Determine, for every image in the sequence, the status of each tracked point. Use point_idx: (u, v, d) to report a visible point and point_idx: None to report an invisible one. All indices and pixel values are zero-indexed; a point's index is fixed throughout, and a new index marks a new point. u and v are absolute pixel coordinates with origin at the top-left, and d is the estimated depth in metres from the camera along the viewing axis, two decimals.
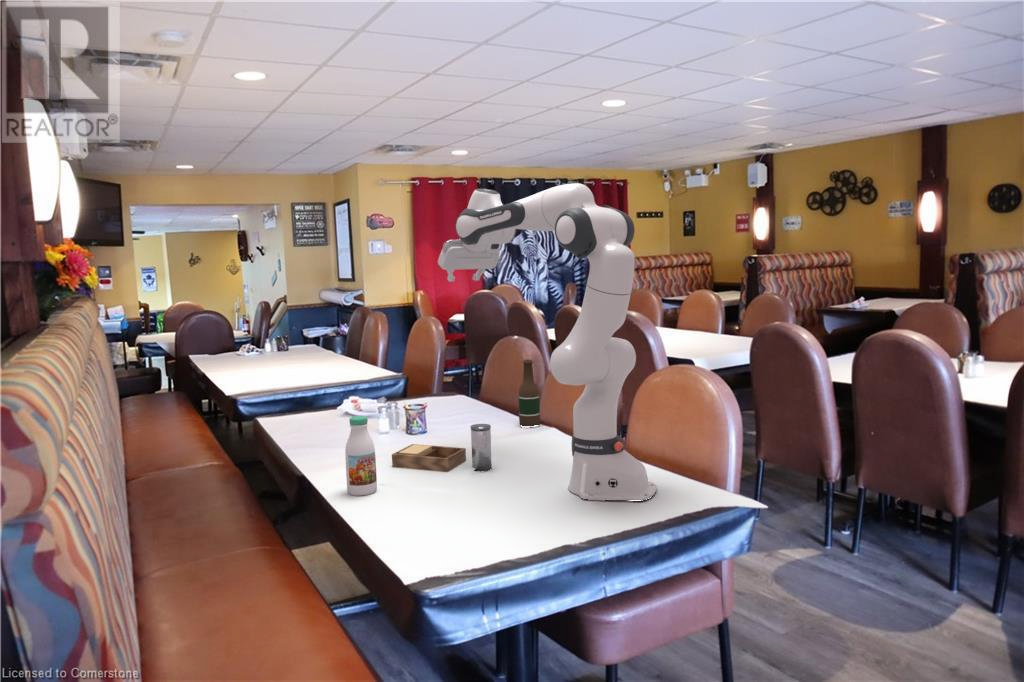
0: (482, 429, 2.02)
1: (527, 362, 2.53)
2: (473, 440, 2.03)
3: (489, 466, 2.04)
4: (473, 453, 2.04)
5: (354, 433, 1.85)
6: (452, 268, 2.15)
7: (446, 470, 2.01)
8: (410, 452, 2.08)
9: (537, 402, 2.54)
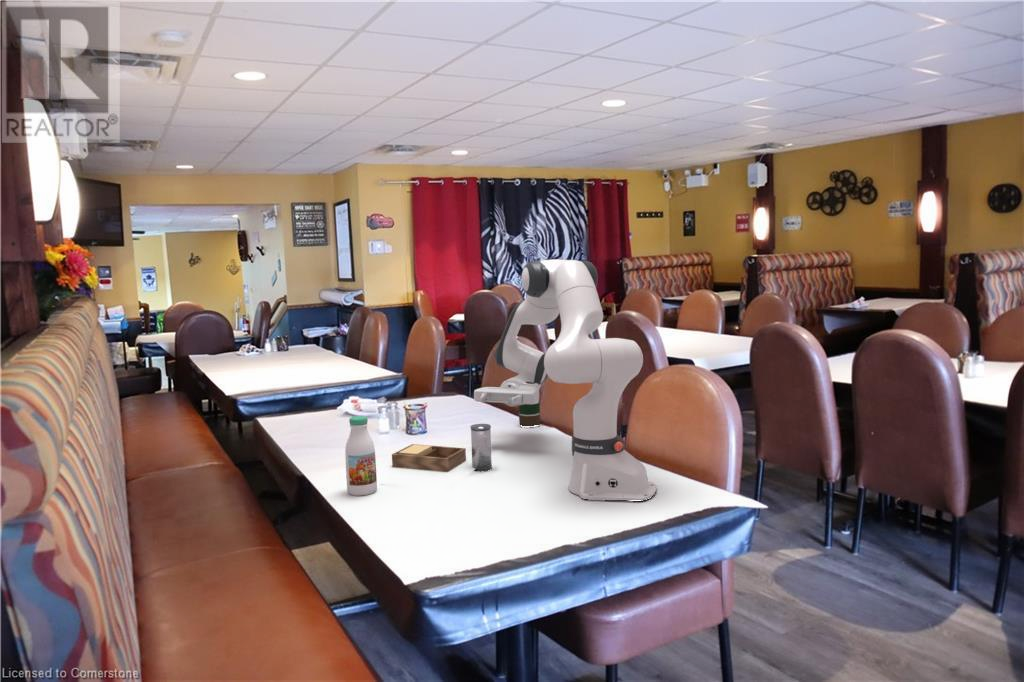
0: (482, 429, 2.02)
1: None
2: (473, 440, 2.03)
3: (489, 466, 2.04)
4: (473, 453, 2.04)
5: (354, 433, 1.85)
6: (483, 390, 2.22)
7: (446, 470, 2.01)
8: (410, 452, 2.08)
9: None
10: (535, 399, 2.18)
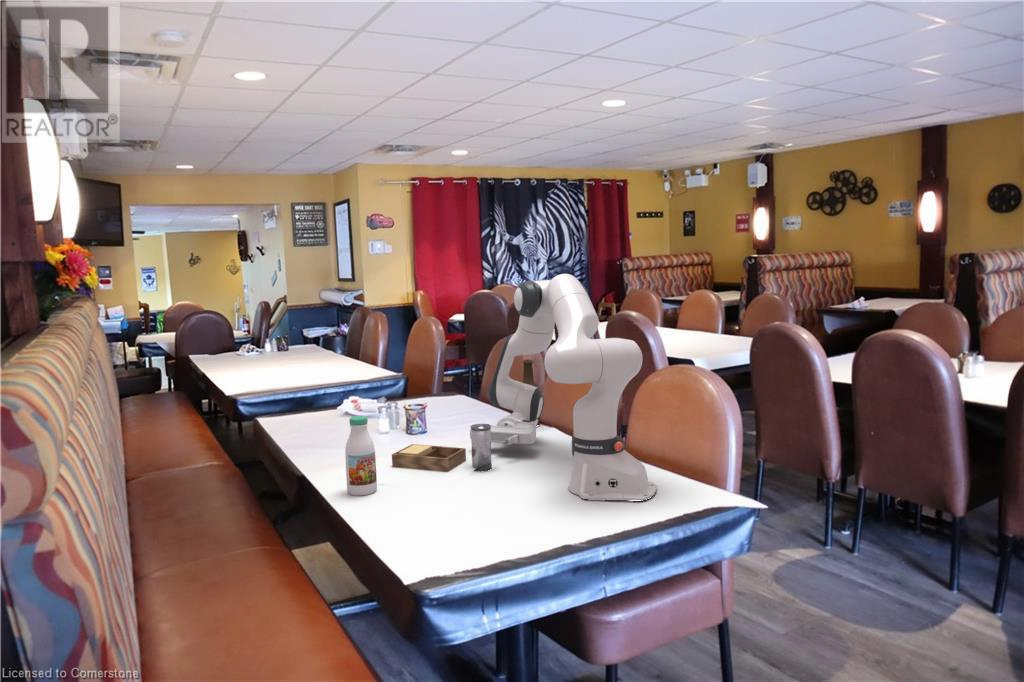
0: (482, 429, 2.02)
1: (527, 362, 2.53)
2: (473, 440, 2.03)
3: (489, 466, 2.04)
4: (473, 453, 2.04)
5: (354, 433, 1.85)
6: None
7: (446, 470, 2.01)
8: (410, 452, 2.08)
9: None
10: (532, 439, 2.15)
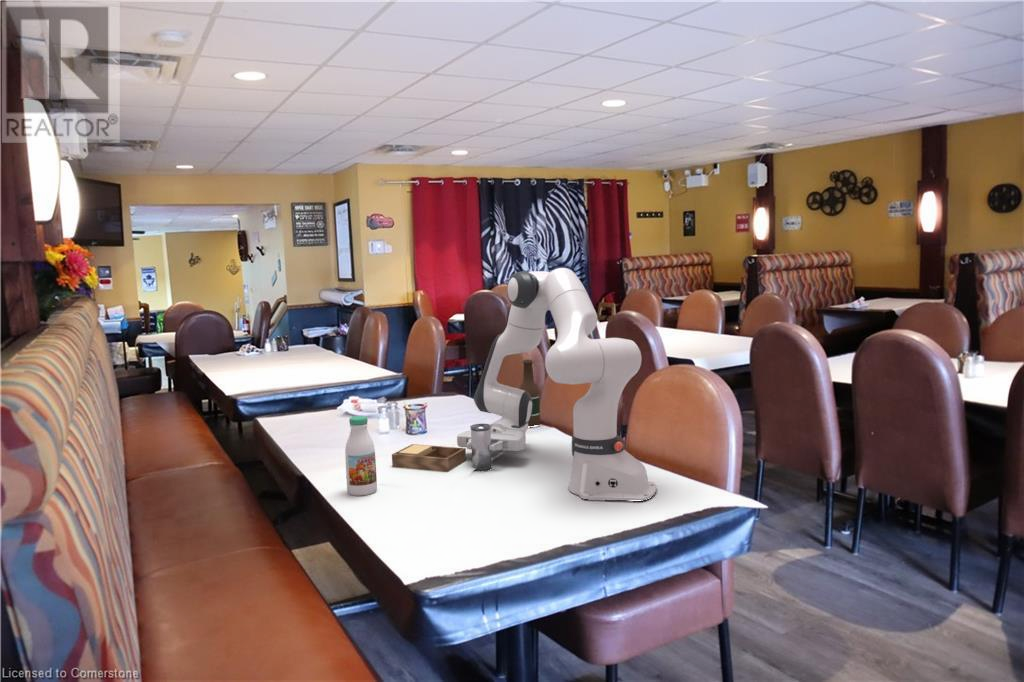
0: (482, 429, 2.02)
1: (527, 362, 2.53)
2: (473, 440, 2.03)
3: (489, 466, 2.04)
4: (473, 453, 2.04)
5: (354, 433, 1.85)
6: (467, 435, 2.11)
7: (446, 470, 2.01)
8: (410, 452, 2.08)
9: (537, 402, 2.54)
10: (521, 445, 2.07)
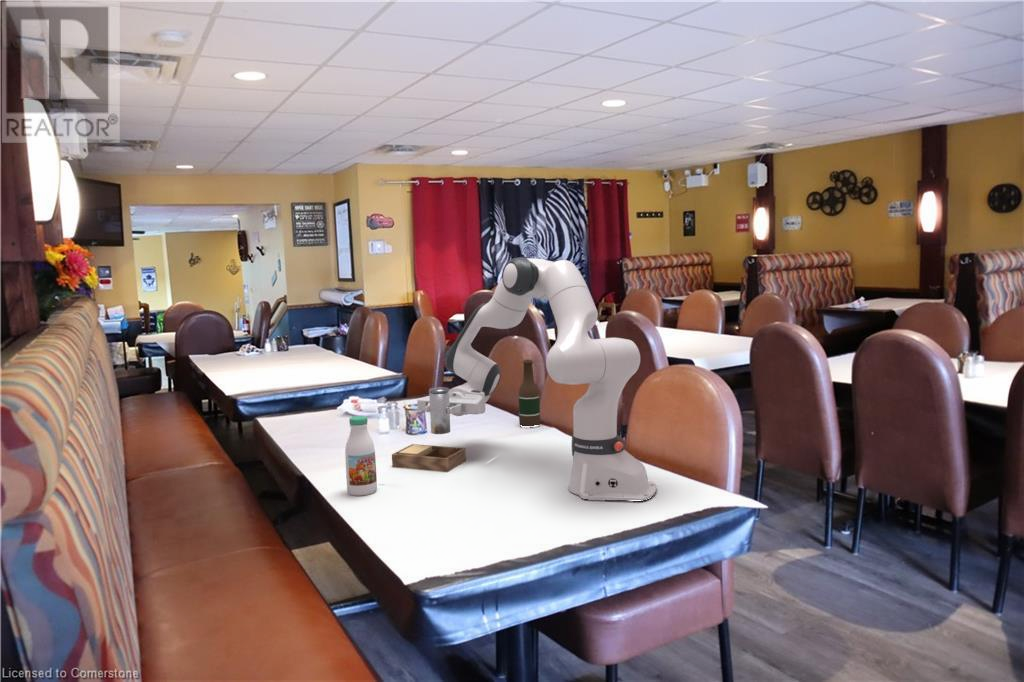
0: (440, 392, 2.03)
1: (527, 362, 2.53)
2: (431, 403, 2.05)
3: (447, 429, 2.06)
4: (431, 416, 2.05)
5: (354, 433, 1.85)
6: (426, 399, 2.13)
7: (446, 470, 2.01)
8: (410, 452, 2.08)
9: (537, 402, 2.54)
10: (480, 409, 2.09)
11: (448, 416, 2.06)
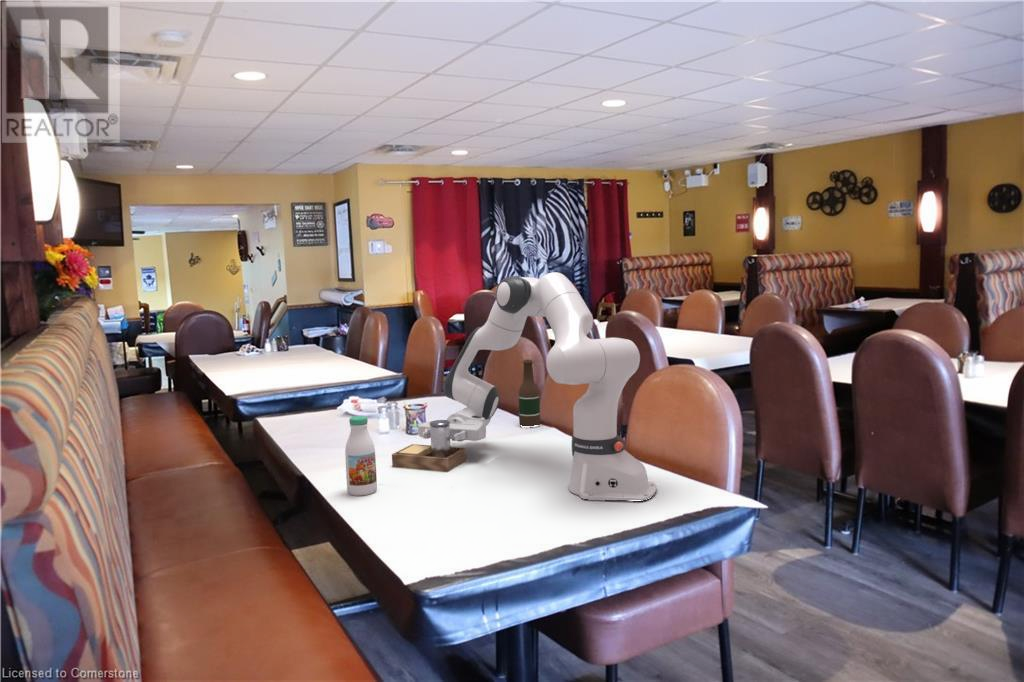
0: (441, 425, 2.04)
1: (527, 362, 2.53)
2: (432, 436, 2.05)
3: None
4: (432, 449, 2.06)
5: (354, 433, 1.85)
6: (427, 425, 2.14)
7: (446, 470, 2.01)
8: (410, 452, 2.08)
9: (537, 402, 2.54)
10: (480, 435, 2.10)
11: (449, 449, 2.07)
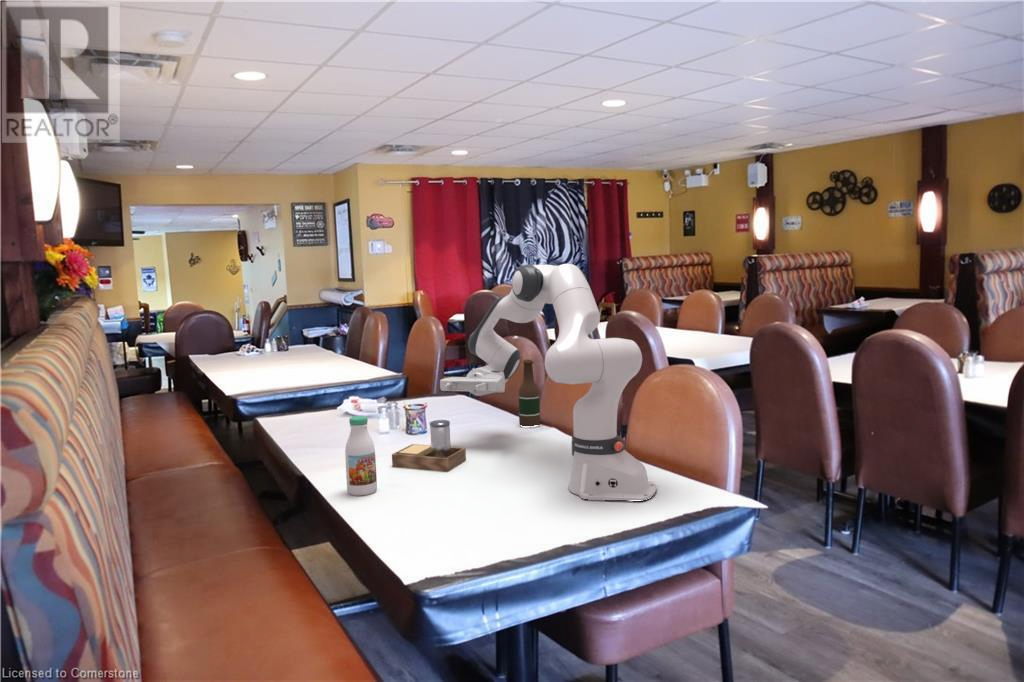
0: (440, 425, 2.04)
1: (527, 362, 2.53)
2: (432, 436, 2.06)
3: None
4: (432, 449, 2.06)
5: (354, 433, 1.85)
6: (449, 379, 2.23)
7: (446, 470, 2.01)
8: (410, 452, 2.08)
9: (537, 402, 2.54)
10: (500, 387, 2.19)
11: (449, 449, 2.07)
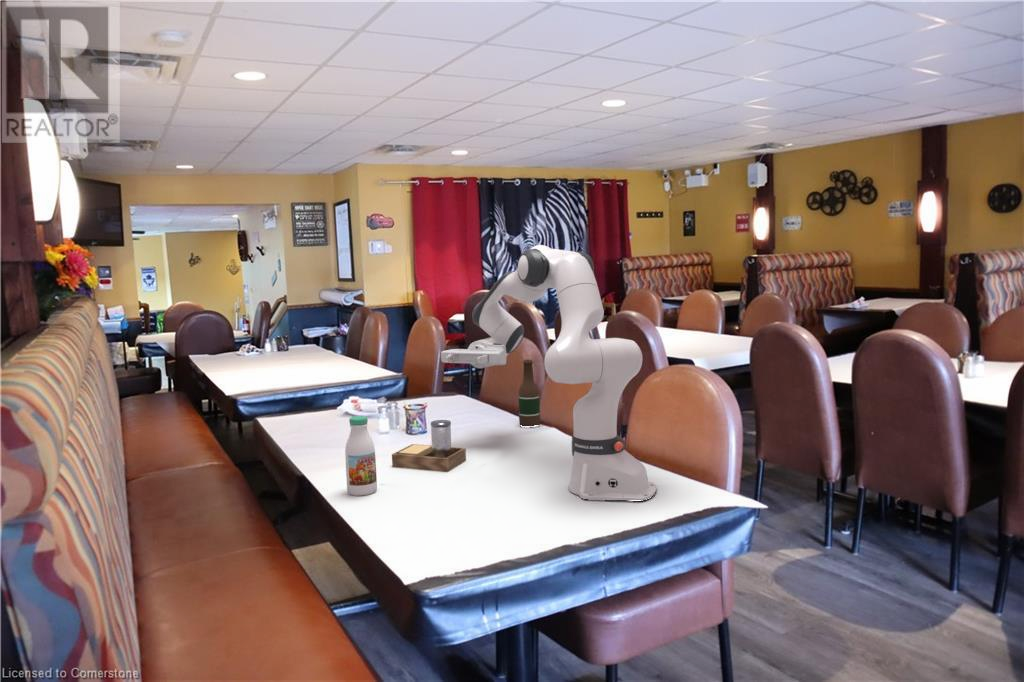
0: (441, 425, 2.04)
1: (527, 362, 2.53)
2: (433, 436, 2.06)
3: None
4: (433, 449, 2.06)
5: (354, 433, 1.85)
6: (450, 351, 2.23)
7: (446, 470, 2.01)
8: (410, 452, 2.08)
9: (537, 402, 2.54)
10: (502, 359, 2.19)
11: (449, 449, 2.07)
